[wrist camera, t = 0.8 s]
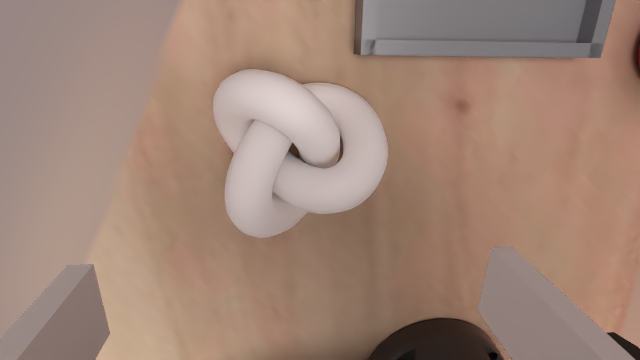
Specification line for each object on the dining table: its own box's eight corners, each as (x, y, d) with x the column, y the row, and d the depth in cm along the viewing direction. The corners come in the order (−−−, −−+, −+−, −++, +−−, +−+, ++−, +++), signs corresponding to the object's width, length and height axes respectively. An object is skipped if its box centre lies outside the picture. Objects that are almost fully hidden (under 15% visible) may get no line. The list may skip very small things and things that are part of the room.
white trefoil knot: (337, 221, 33) (357, 283, 25) (200, 190, 31) (170, 246, 22) (380, 96, 29) (420, 119, 21) (229, 50, 27) (207, 55, 19)
